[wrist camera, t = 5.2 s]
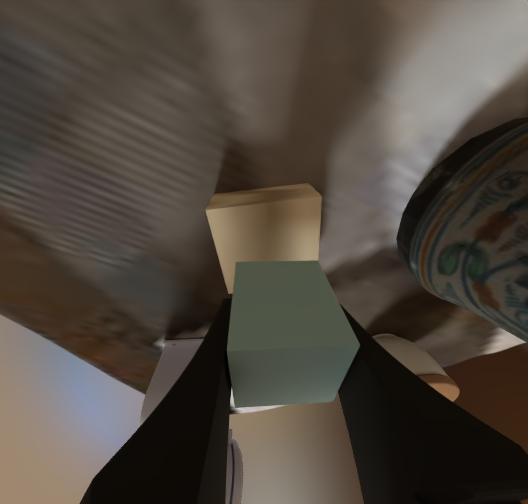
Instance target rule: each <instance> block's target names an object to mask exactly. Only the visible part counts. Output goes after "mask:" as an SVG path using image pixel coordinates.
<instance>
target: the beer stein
mask: <svg viewBox="0 0 528 504" xmlns="http://www.w3.org/2000/svg"><path fill="white" fill-rule="evenodd" d="M397 245H398V251H399V257H400V258H401V259H402V260H403V261H404V263H405V264H406V265H407V266H408V268H409V269H410V270H411V272H412V274H413V275H414V277H415V278H416V280H417V281H418V283H419V284H420V285H421V286H422V287H423V288H424V289H426V290H427V291H428V292H430V293H431V294H433V295H434V296H436V297H438V298H441V299H443V300H446V301H449V302H451V303H454V304H456V305H459V306H461V307H463V308H465V309H467V310H469V311H471V312H473V313H474V314H476V315H478V316H480V317H482V318H484V319H486V320H488V321H490V322H491V323H493V324H495V325H497V326H499V327H500V328H502V329H504V330H506V331H507V332H509V333H511V334H513V335H515V336H516V337H518V338H520V339H522V340H524V341H525V342H527V343H528V118H522V119H516V120H512V121H510V122H507V123H505V124H503V125H501V126H498V127H496V128H494V129H492V130H489V131H487V132H485V133H483V134H481V135H478V136H476V137H474V138H472V139H470V140H469V141H468V142H466V143H465V144H464V145H463V146H461V147H460V148H459V149H458V150H456V151H455V152H454V153H453V154H451V155H450V156H449V157H448V158H446V159H445V160H444V161H442V162H441V163H440V164H439V165H437V166H436V167H435V168H434V169H433V170H432V171H431V172H430V174H429V175H428V176H427V177H426V179H425V180H424V181H423V182H422V184H421V185H420V186H419V188H418V189H417V190H416V191H415V193H414V194H413V195H412V197H411V199H410V201H409V203H408V204H407V206H406V208H405V210H404V212H403V215H402V219H401V223H400V227H399V231H398V235H397Z"/></svg>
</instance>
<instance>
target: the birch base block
mask: <svg viewBox="0 0 528 504" xmlns="http://www.w3.org/2000/svg"><path fill="white" fill-rule="evenodd" d="M321 205H322V196H321V195H320V194H319V193H318V192H317V191H316V190H315V189H314V188H313V187H312V186H311V185H310V184H309V183H304V184H295V185H287V186H278V187H270V188H261V189H252V190H244V191H235V192H227V193H218V194H214V195H213V197H212V199H211V200H210V202H209V204H208V206H207V208H206V214H207V218H208V221H209V225H210V228H211V232H212V236H213V239H214V243H215V247H216V250H217V254H218V257H219V261H220V265H221V268H222V272H223V276H224V279H225V283H226V286H227V290H228V294H233V286H234V277H235V267H236V262H257V261H311V260H318V252H319V237H320V221H321Z"/></svg>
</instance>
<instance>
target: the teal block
mask: <svg viewBox="0 0 528 504" xmlns="http://www.w3.org/2000/svg"><path fill="white" fill-rule="evenodd" d="M359 347H360V344H359V342H358V340H357V338H356V336H355V334H354V332H353V330H352V328H351V326H350V324H349V322H348V320H347V318H346V316H345V314H344V312H343V310H342V308H341V306H340V304H339V302H338V300H337V298H336V296H335V294H334V292H333V290H332V288H331V286H330V284H329V282H328V280H327V278H326V276H325V274H324V272H323V270H322V268H321V266H320V264H319V262H318V260H311V261H257V262H236V267H235V277H234V286H233V296H232V305H231V315H230V324H229V334H228V343H227V357H228V363H229V370H230V377H231V384H232V390H233V397H234V404H235V408H239V407H255V406H271V405H287V404H302V403H318V402H332V401H333V400H334V397H335V396H336V394H337V392H338V390H339V388H340V385H341V383H342V381H343V379H344V377H345V375H346V373H347V371H348V369H349V367H350V365H351V363H352V361H353V359H354V357H355V355H356V353H357V351H358V349H359Z"/></svg>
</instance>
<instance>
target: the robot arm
mask: <svg viewBox="0 0 528 504" xmlns="http://www.w3.org/2000/svg"><path fill="white" fill-rule="evenodd" d="M339 304H340V303H339ZM231 305H232V298H227V299H223V301H222V303H221V306H220V308H219V311H218V313H217V315H216V317H215V319H214V321H213V323H212V325H211V327H210V329H209V331H208V333H207V334H206V336H205V338H204V339H183V340H165V341H164V342H163V346H164V349H163V352H162V354H161V357H160V359H159V362H158V364H157V367H156V369H155V372H154V375H153V377H152V380H151V382H150V385H149V387H148V390H147V393H146V395H145V399H144V402H143V407H142V411H141V419H140V424H141V426H140V427H139V428H138V430H137V431H136V432H135V433H134V434H133V435H132V437H131V438H130V439H129V440H128V441H127V442H126V443H125V444H124V445H123V446H122V447H121V449H120V450H119V451H118V452H117V453H116V454H115V455H114V456H113V457H112V458H111V459H110V461H109V462H108V463H107V464H106V465H105V466H104V467H103V468H102V469H101V471H100V472H99V473H98V474H97V475H96V476H95V477H94V479H93V480H92V482H91V483H90V485H89V487H88V489H87V491H86V493H85V494H84V496H83V498H82V500H81V502H80V504H241V497H242V486H243V462H242V454H241V451H240V448H239V446H238V444H237V442H236V440H234V439H232V429H229V414H230V397H231V388H232V384H231V377H230V370H229V363H228V357H227V343H228V334H229V324H230V315H231ZM340 306H341V308H342V310H343V312H344V314H345V316H346V318H347V320H348V322H349V324H350V326H351V328H352V330H353V332H354V334H355V336H356V338H357V340H358V342H359V344H360V347H359V349H358V351H357V353H356V355H355V357H354V359H353V361H352V363H351V365H350V367H349V369H348V371H347V373H346V375H345V377H344V379H343V381H342V383H341V385H340V388H339V390H338V394H339V398H340V401H341V405H342V409H343V413H344V416H345V420H346V425H347V428H348V432H349V436H350V441H351V445H352V449H353V454H354V458H355V463H356V467H357V471H358V476H359V481H360V485H361V491H362V495H363V500H364V504H521V503H520V500H524V499H528V454H527V453H526V452H525V451H524V450H523V449H522V447H521V446H520V445H518V444H516V443H515V442H513V441H512V440H510V439H509V438H507V437H506V436H504V435H502V434H501V433H499V432H498V431H496V430H495V429H493V428H491V427H490V426H488V425H487V424H485V423H483V422H482V421H480V420H479V419H477V418H476V417H474V416H472V415H471V414H470V413H468V412H467V411H465V410H464V409H462V408H461V407H459V406H458V405H456V404H455V403H453V402H452V401H451V400H449V399H448V398H446V397H445V396H444V395H442V394H441V393H439V392H438V391H437V390H435V389H434V388H433V387H431V386H430V385H429V384H427V383H426V382H425V381H423V380H422V379H421V378H419V377H418V376H417V375H415V374H414V373H413V372H412V371H410V370H409V369H408V368H407V367H405V366H404V365H403V364H402V363H401V362H399V361H398V360H397V359H396V358H395V357H393V356H392V355H391V354H390V353H389V352H388V351H386V350H385V349H384V348H383V347H382V346H381V345H380V344H379V343H378V342H377V341H376V340H375V339H374V338H373V337H371V336H370V335H369V334H368V333H367V332H366V331H365V330H364V329H363V328H362V327H361V326H360V324H359V323H358V322H357V321H356V320H355V319H354V318H353V317H352V316H351V315H350V314H349V313H348V312H347V311H346V310H345V309H344V308H343V306H342V305H341V304H340Z"/></svg>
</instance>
